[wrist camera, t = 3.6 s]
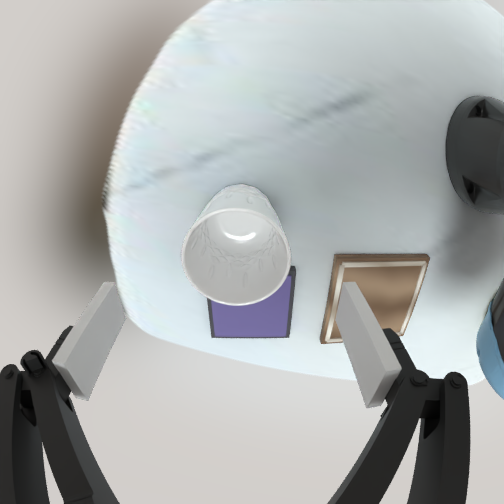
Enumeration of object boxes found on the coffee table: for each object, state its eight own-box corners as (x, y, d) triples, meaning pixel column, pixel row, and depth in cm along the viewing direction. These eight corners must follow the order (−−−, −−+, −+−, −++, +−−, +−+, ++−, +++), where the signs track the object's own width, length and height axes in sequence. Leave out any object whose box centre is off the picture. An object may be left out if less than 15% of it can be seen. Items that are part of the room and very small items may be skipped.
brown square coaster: (334, 254, 31) (337, 259, 30) (426, 254, 31) (430, 258, 30) (319, 339, 37) (321, 345, 36) (400, 331, 37) (403, 336, 36)
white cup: (248, 162, 27) (247, 184, 18) (293, 223, 29) (311, 271, 20) (187, 208, 29) (159, 250, 20) (233, 262, 31) (227, 321, 22)
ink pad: (205, 266, 32) (204, 272, 30) (294, 266, 32) (296, 272, 30) (212, 332, 36) (211, 339, 35) (288, 332, 36) (289, 339, 35)
